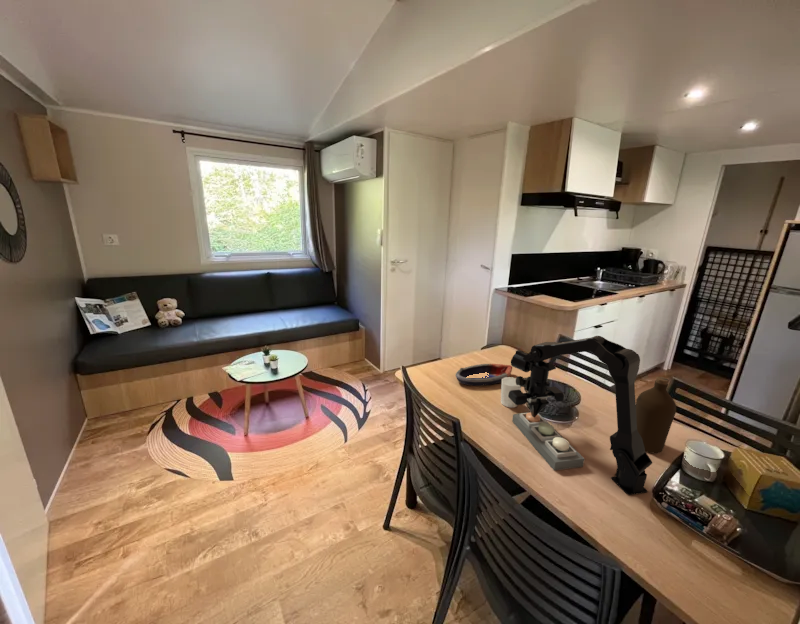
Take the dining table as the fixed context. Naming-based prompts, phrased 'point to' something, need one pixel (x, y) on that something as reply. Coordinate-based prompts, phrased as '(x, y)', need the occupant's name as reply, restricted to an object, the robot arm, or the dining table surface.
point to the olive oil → (655, 415)
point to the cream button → (560, 444)
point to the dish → (494, 370)
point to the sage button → (546, 429)
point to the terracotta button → (532, 418)
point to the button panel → (547, 444)
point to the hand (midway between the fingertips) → (533, 416)
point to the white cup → (507, 386)
